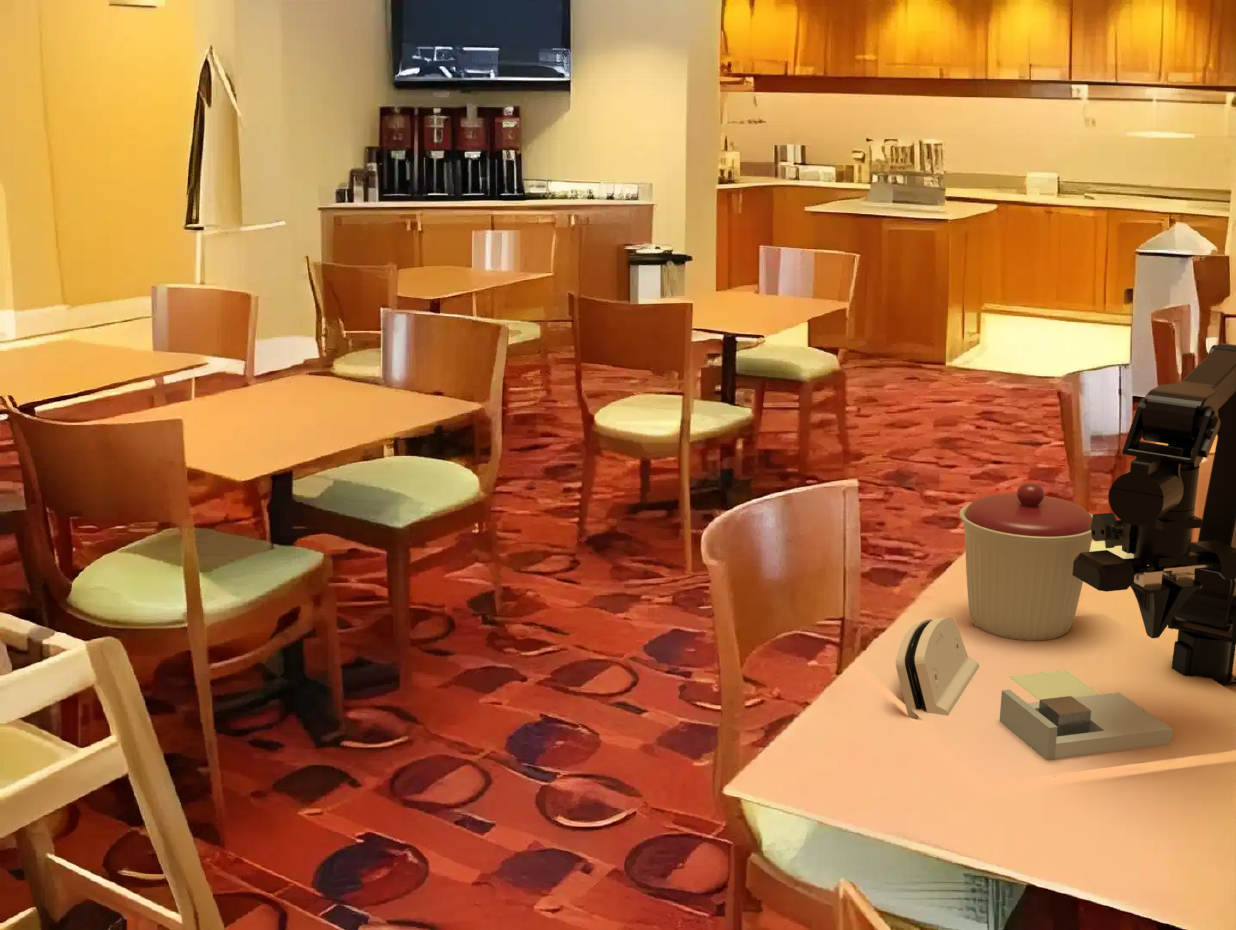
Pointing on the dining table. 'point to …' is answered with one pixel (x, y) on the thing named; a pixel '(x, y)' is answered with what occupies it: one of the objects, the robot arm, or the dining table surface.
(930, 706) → the beige half-round holder
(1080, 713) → the block
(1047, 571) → the canister
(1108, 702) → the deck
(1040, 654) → the dining table surface
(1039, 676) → the pad
